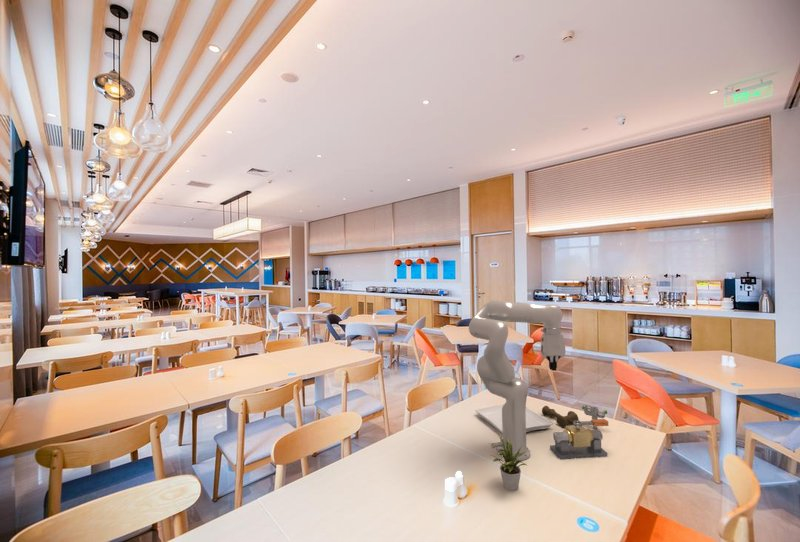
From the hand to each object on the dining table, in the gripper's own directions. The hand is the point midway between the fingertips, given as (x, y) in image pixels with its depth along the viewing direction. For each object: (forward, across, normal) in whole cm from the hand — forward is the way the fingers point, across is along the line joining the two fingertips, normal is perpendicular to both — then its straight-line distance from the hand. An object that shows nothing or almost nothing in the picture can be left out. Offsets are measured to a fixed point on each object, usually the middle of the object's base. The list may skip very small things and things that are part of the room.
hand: (553, 369), depth 160 cm
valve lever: (+18, +5, -19) cm, 27 cm away
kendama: (+30, +8, +9) cm, 32 cm away
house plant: (+29, -37, -36) cm, 59 cm away
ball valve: (+29, 0, -19) cm, 35 cm away
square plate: (+30, -16, +11) cm, 35 cm away
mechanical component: (+29, +20, 0) cm, 35 cm away
